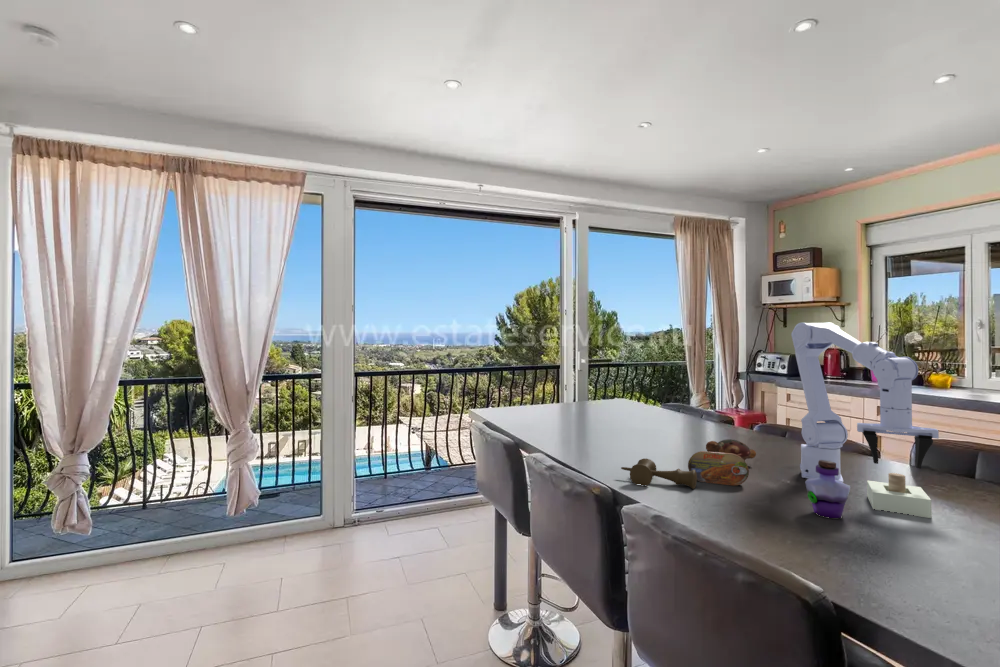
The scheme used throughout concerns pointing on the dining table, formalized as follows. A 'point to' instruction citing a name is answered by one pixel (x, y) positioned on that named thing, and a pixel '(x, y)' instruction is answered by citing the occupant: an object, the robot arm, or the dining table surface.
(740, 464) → the tin
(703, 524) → the dining table surface
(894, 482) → the peg
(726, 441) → the decorative turtle
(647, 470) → the kendama
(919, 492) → the socket block
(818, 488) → the potion bottle
